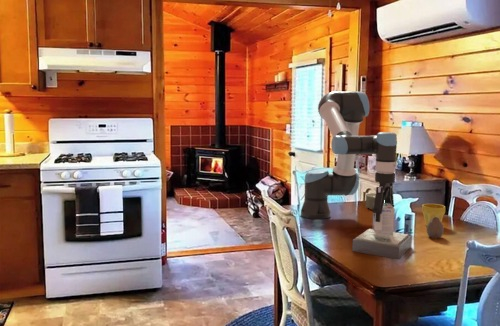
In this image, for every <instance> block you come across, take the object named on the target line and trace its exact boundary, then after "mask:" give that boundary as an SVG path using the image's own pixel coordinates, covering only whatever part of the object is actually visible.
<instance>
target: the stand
mask: <svg viewBox="0 0 500 326" xmlns="http://www.w3.org/2000/svg"><path fill="white" fill-rule="evenodd" d="M411 247H412V235H409V234H407V233H403V232H402V233H401V232H395V231H393V236H386V235H376V234H375V232H374V230H373V228H368V229H366V230H365V231H364V232H362V233H360V234H359V235H357V236H356V237H355V238H353V239H352V252H355V253H360V254H361V253H362V254H366V255H372V256H378V257H384V258H390V259H396V260H399V259H401V257H403V256H404V255H405V254H406V253H407V252H408V251H409V250H410V249H411Z"/></svg>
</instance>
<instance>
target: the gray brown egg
mask: <svg viewBox="0 0 500 326" xmlns="http://www.w3.org/2000/svg"><path fill="white" fill-rule="evenodd" d="M444 230H445V228H444V224H443V223H442V222H441V221H440V220H439V218H438V217H433V218H432V220H431V221H430V222H429V223H428V225H427V226H426V233H427V235H428V237H429V238H431V239H441V238H442V237H443V234H444Z"/></svg>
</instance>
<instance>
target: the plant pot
mask: <svg viewBox="0 0 500 326" xmlns="http://www.w3.org/2000/svg"><path fill="white" fill-rule="evenodd" d="M421 206H422V207H421V213H423V218H424V223H425V226H426V227H427V225H428V223H429V222H430V221H431V220H432V218H433V217H438V218H439V220H440V221H441V223H442V221H443V218H444V215H445V214H446V206H445V205H443V204H439V203H438V204H437V203H424V204H421Z"/></svg>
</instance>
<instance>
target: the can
mask: <svg viewBox="0 0 500 326" xmlns="http://www.w3.org/2000/svg"><path fill="white" fill-rule="evenodd" d="M375 196H376V193H367V194H365V208H366V209H368V208H369V210H373V208H374V202H375Z"/></svg>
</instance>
